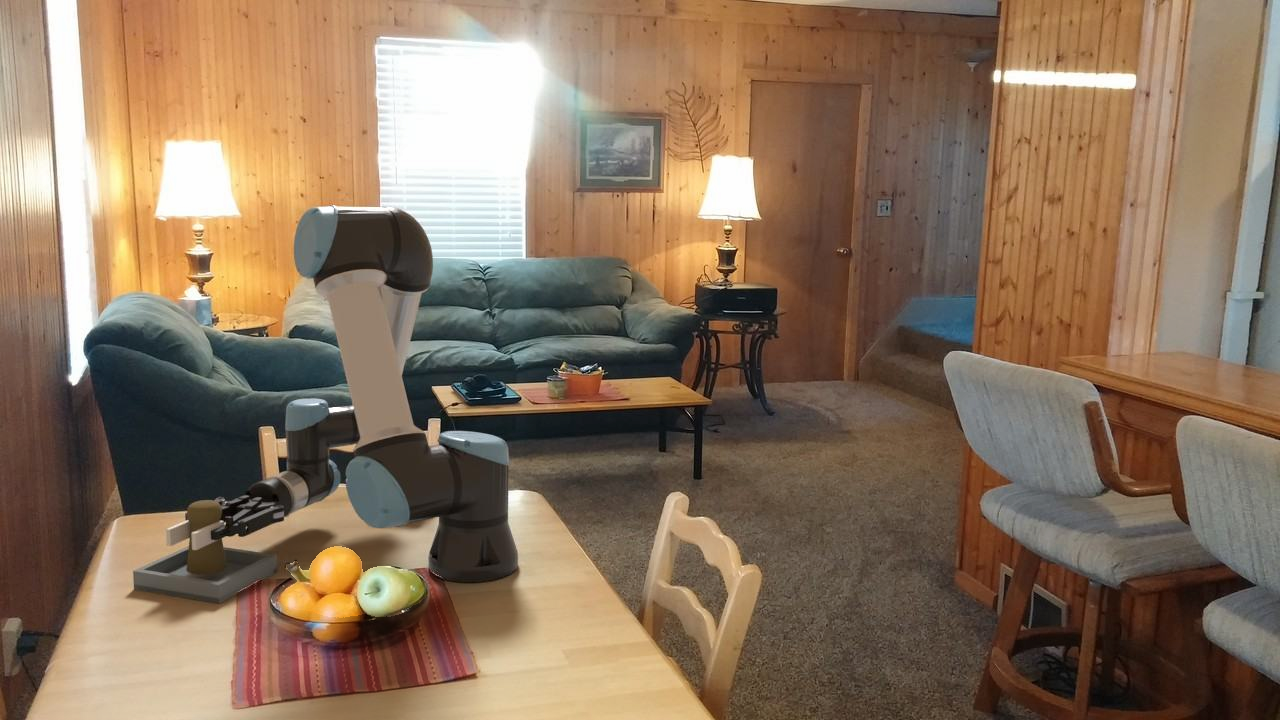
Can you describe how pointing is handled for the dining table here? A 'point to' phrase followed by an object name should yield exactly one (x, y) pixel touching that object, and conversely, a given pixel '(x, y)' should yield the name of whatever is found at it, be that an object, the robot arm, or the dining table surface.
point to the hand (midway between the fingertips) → (181, 539)
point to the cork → (209, 555)
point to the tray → (205, 575)
